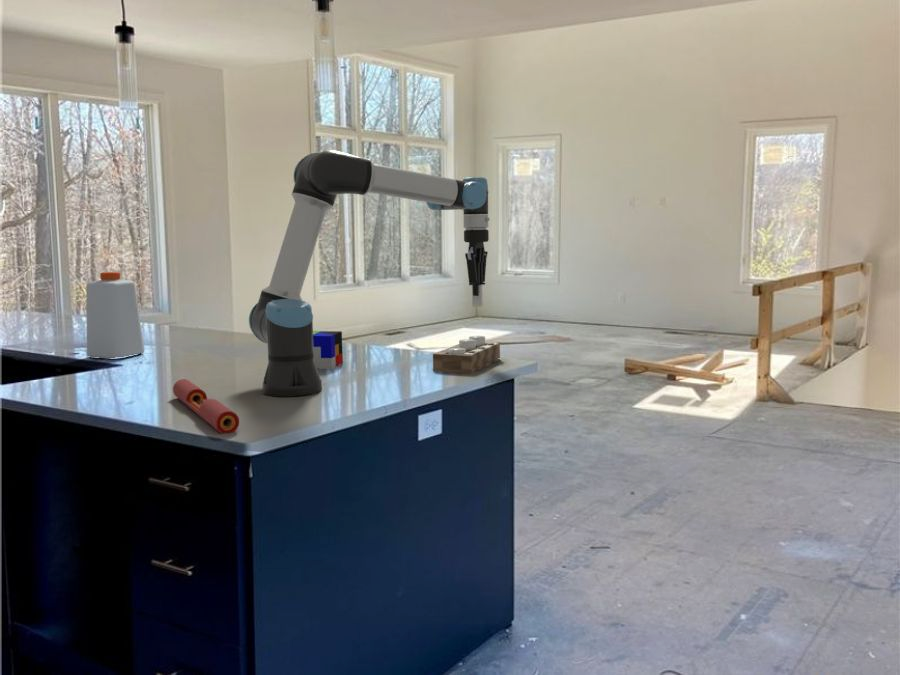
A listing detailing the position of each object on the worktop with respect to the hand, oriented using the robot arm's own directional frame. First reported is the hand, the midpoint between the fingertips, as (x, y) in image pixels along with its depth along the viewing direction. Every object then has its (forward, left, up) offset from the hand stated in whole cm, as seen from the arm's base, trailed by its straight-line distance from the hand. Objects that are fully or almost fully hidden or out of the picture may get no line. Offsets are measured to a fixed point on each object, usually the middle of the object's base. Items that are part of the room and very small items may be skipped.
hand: (477, 306), depth 252 cm
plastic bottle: (-30, +118, -17) cm, 123 cm away
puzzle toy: (-23, +42, -17) cm, 51 cm away
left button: (-16, 0, -15) cm, 22 cm away
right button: (0, 0, -14) cm, 14 cm away
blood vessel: (-86, +35, -18) cm, 95 cm away
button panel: (-8, 0, -17) cm, 19 cm away
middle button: (-8, 0, -14) cm, 16 cm away
